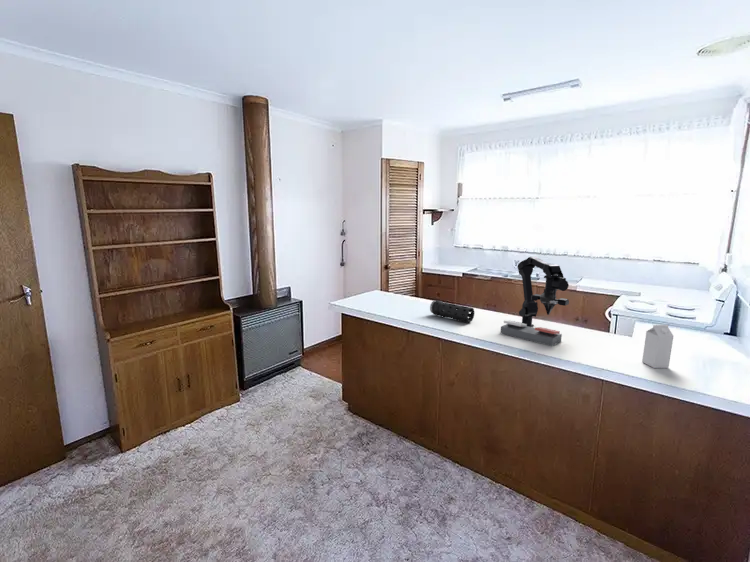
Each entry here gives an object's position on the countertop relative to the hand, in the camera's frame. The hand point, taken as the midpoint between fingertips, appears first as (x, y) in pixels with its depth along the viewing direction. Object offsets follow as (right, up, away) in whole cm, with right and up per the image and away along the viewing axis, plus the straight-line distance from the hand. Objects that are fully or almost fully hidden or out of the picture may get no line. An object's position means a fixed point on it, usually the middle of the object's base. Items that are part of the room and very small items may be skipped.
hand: (548, 314), depth 215 cm
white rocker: (-17, -5, +4) cm, 18 cm away
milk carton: (+31, -20, -39) cm, 54 cm away
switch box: (-11, -12, -1) cm, 16 cm away
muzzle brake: (-48, -6, +33) cm, 59 cm away
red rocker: (-4, -8, -9) cm, 12 cm away
